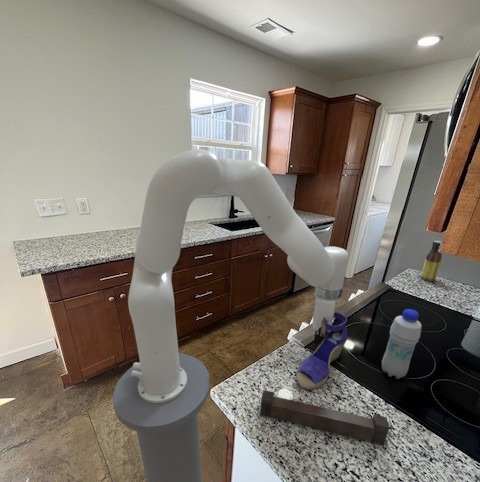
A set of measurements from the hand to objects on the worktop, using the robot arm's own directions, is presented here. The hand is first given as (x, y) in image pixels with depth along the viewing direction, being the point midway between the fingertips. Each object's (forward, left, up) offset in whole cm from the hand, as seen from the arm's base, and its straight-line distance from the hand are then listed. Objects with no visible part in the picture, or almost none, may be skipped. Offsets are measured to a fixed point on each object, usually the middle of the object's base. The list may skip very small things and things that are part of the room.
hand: (319, 343), depth 82 cm
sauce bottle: (+53, +70, -2) cm, 88 cm away
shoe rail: (0, -27, -2) cm, 27 cm away
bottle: (+20, -5, -2) cm, 21 cm away
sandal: (+1, -9, -2) cm, 9 cm away
